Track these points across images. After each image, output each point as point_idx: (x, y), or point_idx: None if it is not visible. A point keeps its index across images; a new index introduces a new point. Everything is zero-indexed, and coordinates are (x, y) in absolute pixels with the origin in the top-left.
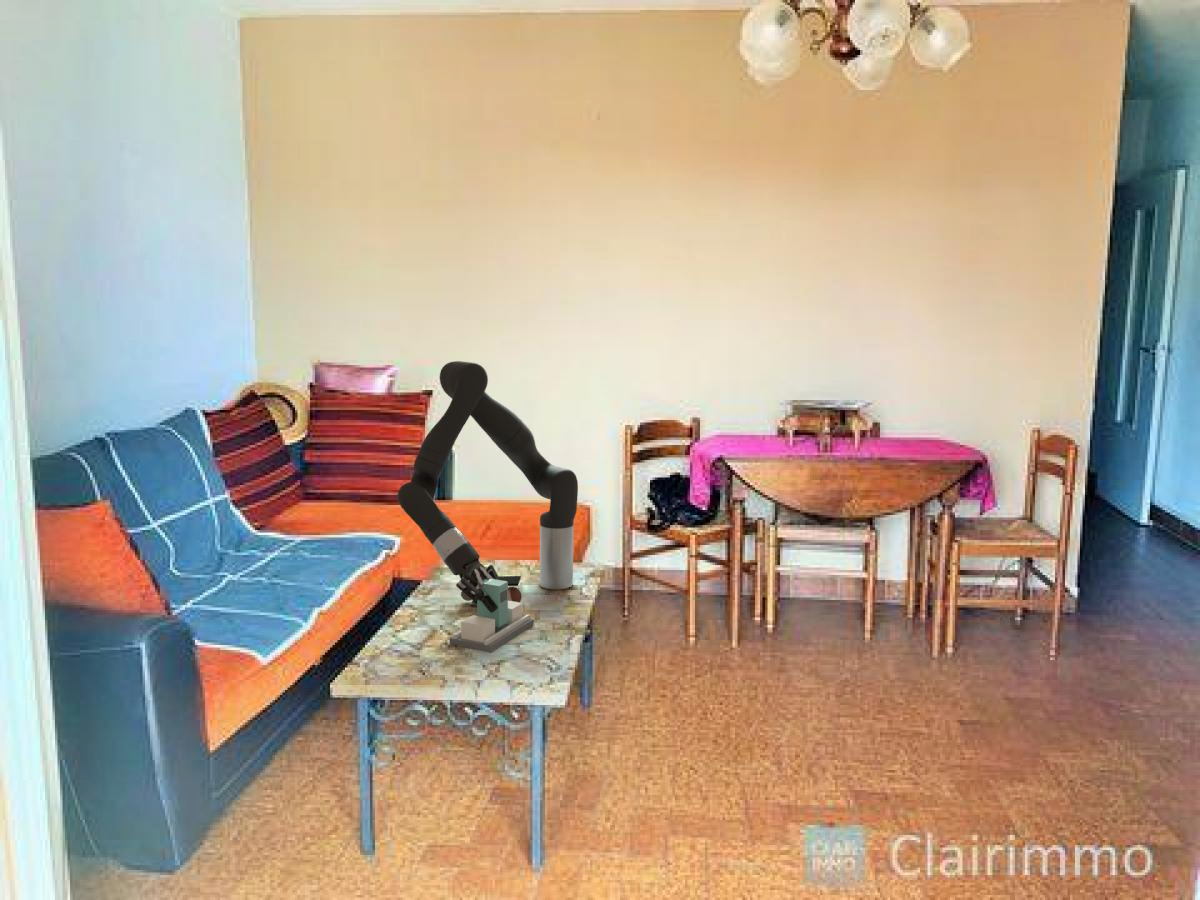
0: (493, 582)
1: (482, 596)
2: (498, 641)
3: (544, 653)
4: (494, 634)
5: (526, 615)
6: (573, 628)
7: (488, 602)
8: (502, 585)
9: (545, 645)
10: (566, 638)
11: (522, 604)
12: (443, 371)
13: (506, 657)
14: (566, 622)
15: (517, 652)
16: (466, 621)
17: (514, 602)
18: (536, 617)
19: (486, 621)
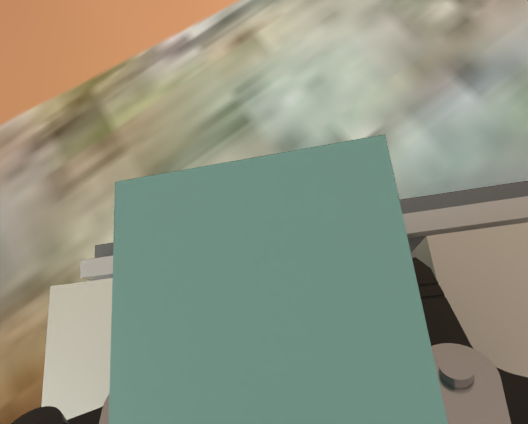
0: (274, 350)
1: (518, 377)
2: (458, 191)
3: (370, 17)
4: (452, 225)
5: (101, 267)
6: (81, 100)
7: (446, 303)
8: (279, 161)
9: (294, 66)
10: (186, 55)
11: (58, 286)
12: None
13: (523, 96)
14: (32, 159)
15: (437, 98)
16: None
17: (60, 341)
18: (21, 301)
19: (513, 255)
